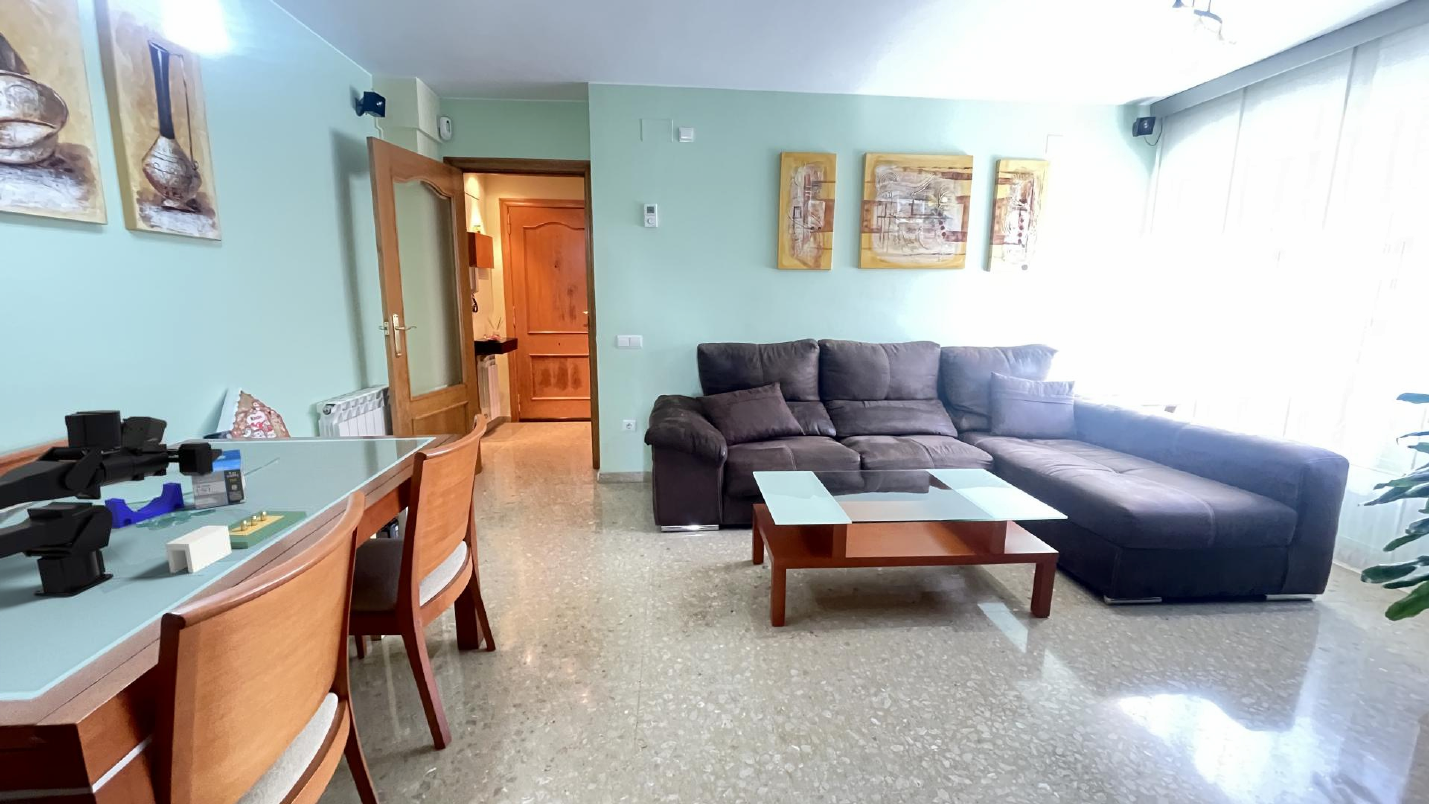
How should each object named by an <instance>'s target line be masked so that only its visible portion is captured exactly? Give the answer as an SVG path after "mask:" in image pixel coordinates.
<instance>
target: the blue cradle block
mask: <svg viewBox="0 0 1429 804" xmlns="http://www.w3.org/2000/svg"><path fill="white" fill-rule="evenodd" d="M104 506H105V507H107V508H108V509H109V510H110V511H111V512H112V516H113V524H112V528H115V529H123V528H125V527H128V526H131V525H135V524H138V523H140V522H144V521H147V520H146V519H148V520H150V519H154V518H156V516H157V517H160V516H163V515H165V514H169V513H172V512H175V511H178V510H182V509H184V508H185V501H184V495H183V488H182V484H181V482H179V483H178V482H166V483H162V491H161V495H160V496H157V497H156V496H155V497H153V498H152V499H151V500H150V502H149V503H148V504H146V505H145V506H143V507H141V508H139V509H137V510H136V511H134V510H133V509H131V508H130V507H129V506H128V504H127V503H126V500H125V498H118V497H117V498H116V497H111V498H108V499H104Z"/></svg>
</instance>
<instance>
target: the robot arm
mask: <svg viewBox="0 0 1429 804" xmlns="http://www.w3.org/2000/svg"><path fill="white" fill-rule="evenodd" d="M121 417H122V416H121V410H119V409H117V410H116V409H109V410H108V409H107V410H105V409H103V410H101V409H100V410H82V411H75V412H74V413H70V414H66V415H65V416H64V424H65V427H66V431H67V432H66V435H67V444H68V445H64V446H57V445H56V446H55V445H54V446H51V447H50V448H49V449H48V450H47V451H45V452H44V453H43V454H41V455H40V456H39V457H38V458H37V459H35V460H33V461H30V462H27V463H25V464H23V465H20V466H18V467H14V468H12V469H10V470H8V471H6V472H5V473H4V474H2V475H1V476H0V510H3V509H6V508H9V507H12V506H16V505H21V504H27V503H34V502H35V503H36V502H46V501H51V502H49V503H48V504H46V505H43V506H38V507H28V508H26V511H27V515H28V517H26V518H25V519H24V520H23V521H22V522H19V523H16V524H13V525H9V526H5V527H1V528H0V560H2V559H4V558H9V557H11V556H14V555H18V554H21V553H22V554H23V556H25V557H26V558H31V557H39V558H37V559H36V563H37V567H38V573H39V577H40V581H41V587H42V588H39V589H38V590H35V591H33V595H34V596H75V595H77V594H79V593H81V592H84V591H86V590H88V589H90V588H93V587H94V586H97V585H99V584H100V583H103V582H106V581H107V580H110V579H112V578H113V577H114V573H106V565H105V561H104V556H103V551H102V550H101V549H104V548H106V547H108V546H109V543H110V539H111V538H110V537H111V533H112V528H113V527H112V524H113V516H112V512H111V511H110V510H109V509H108V508H107V507H105V504H104V505H102V504H94V503H93V502H91V501H99V500H101V498H102V491H101V490H102V489H101V487H106V486H112V485H115V484H120V483H124V482H141V481H145V478H148V477H163V476H167V473H168V472H167V469H168V468H169V465H170V464H174V463H175V464H178V469H179V473H180V474H181V475H183V476H184V477H191V476H203V475H208V474H211V473H212V472H213V462H214V461H215V460H216V459H219V458H220V457H222V456H221V455H222V451H223V449H222V448H212V445H211V443H209V442H199V441H198V442H194V441H193V442H186V443H184V442H183V443H181V444H180V446H179V447H178V448H168V447H167V446H168V445H167V443H161V442H162V441H163V437H164V433H165V429H166V428H167V427H168V422H167V420H164V419H159V418H156V417H152V416H139V415H138V416H129V417H128V418H127V417H126V418H121ZM72 497H75V498H76V499H77V500H80V501H55V500H58V499H59V500H60V499H65V498H66V499H67V498H72ZM53 500H54V501H53ZM81 500H85V501H86V500H87V502H85V501H84V502H83V501H82V502H81ZM88 500H89V501H90V500H91V501H90V502H89V501H88Z"/></svg>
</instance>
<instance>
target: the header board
mask: <svg viewBox="0 0 1429 804" xmlns="http://www.w3.org/2000/svg"><path fill="white" fill-rule="evenodd" d="M307 515H308V514H307V511H301V510H297V511H296V510H294V511H293V510H259V511H257V512H254V513H253V514H251V515H249V516H246V517H244V518H242V519H241V520H238V521H236V522H234V523H232V524H229V525H227V526H228V531H229V538H230V545H231V549H249V548H252V546H255V545H256V544H259V543H261V542H262V541H264V540H265V539H267V538H269V537H271V536H273V535H276V534H277V533H278V532H281V531H282V530H285V529H286V528H288V527H290V526H292V525H294V524H296V523H298V522H299V521H301V520H303V519H305V518H307Z"/></svg>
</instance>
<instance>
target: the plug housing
mask: <svg viewBox="0 0 1429 804" xmlns="http://www.w3.org/2000/svg"><path fill="white" fill-rule="evenodd" d="M228 526H229V525H204V526H202V527H200V528H198V529H195V530H192V531H191V532H189V533H187V534H184V535H182V536H179V537H178V538H175V539H173V540H171V541H169V542H167V543H165V549H166V554H167V559H168V560H167V561H168V565H169V571H170V574H173V573H174V574H176V573H177V572H180V571H181V570H184V569H186V568H187V571H188V573H189V574H194V573H196V572H198V571H201V570H202V569H203V568H206V567H207V566H208V567H209V565H211V563H212V564H213V563H215V562H217V561H218V560H221V559H222V558H225V557H227V556H229V555H230V554H233V553H232V548H231V545H230V538H229V531H228ZM205 566H206V567H205Z"/></svg>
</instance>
